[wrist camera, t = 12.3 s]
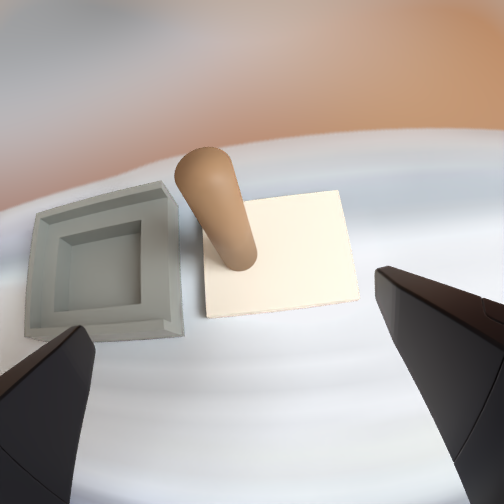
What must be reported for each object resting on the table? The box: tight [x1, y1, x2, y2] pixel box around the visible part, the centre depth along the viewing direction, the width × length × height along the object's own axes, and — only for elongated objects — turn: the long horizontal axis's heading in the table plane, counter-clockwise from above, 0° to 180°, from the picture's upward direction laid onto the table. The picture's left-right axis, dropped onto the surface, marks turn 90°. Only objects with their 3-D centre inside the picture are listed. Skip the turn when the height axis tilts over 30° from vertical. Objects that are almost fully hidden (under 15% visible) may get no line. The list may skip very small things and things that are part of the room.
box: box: [24, 181, 184, 342], centre depth 22 cm, size 12×10×4 cm
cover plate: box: [174, 147, 360, 319], centre depth 18 cm, size 10×8×11 cm
